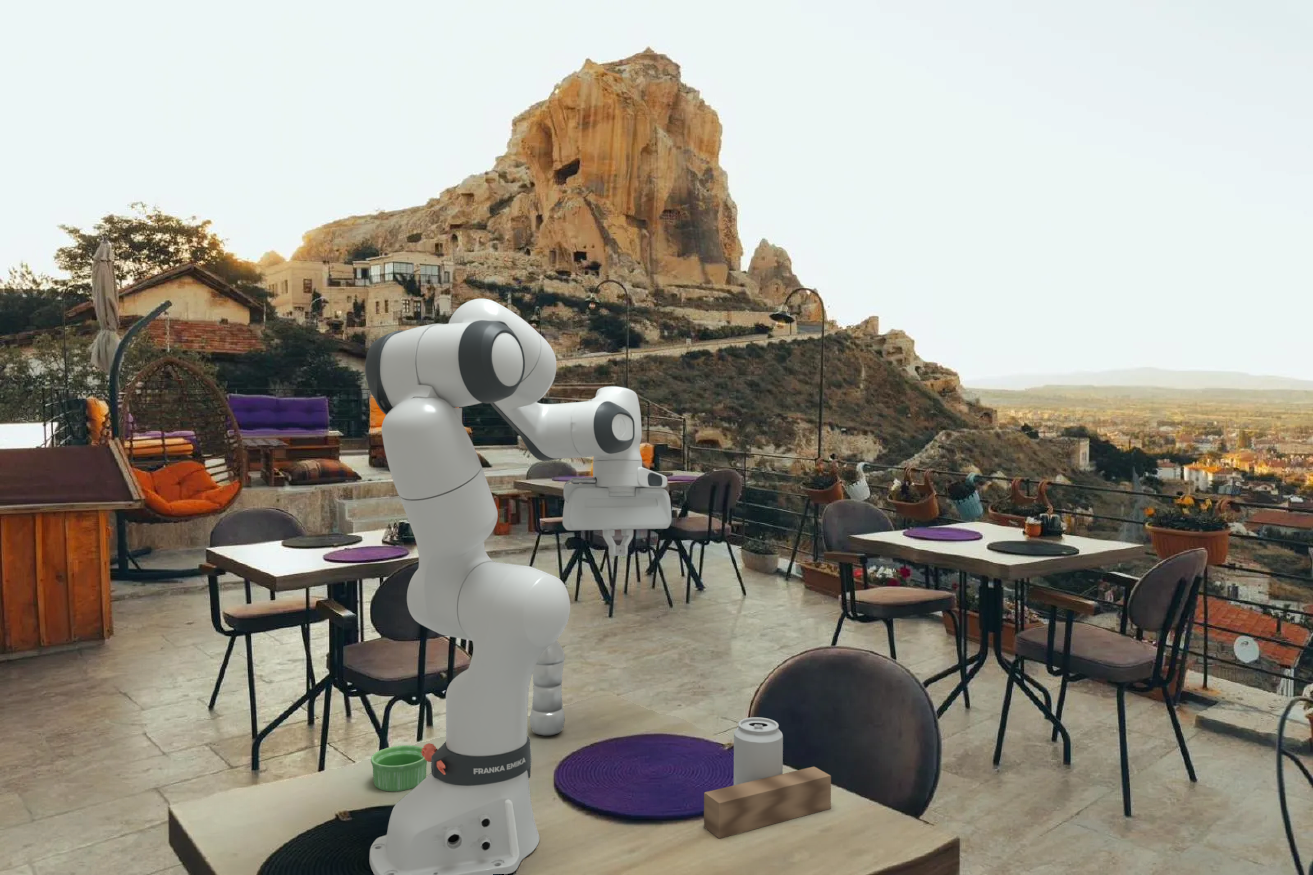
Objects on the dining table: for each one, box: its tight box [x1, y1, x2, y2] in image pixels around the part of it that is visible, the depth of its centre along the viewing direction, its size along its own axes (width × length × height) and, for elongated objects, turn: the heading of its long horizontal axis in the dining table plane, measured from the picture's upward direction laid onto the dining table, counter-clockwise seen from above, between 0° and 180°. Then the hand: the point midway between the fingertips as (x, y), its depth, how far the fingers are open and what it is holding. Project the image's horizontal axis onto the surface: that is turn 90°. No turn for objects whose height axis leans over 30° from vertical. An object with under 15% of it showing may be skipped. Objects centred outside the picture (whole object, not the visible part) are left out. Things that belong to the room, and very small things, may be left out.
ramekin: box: [370, 744, 428, 792], centre depth 141 cm, size 9×9×4 cm
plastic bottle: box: [529, 639, 566, 736], centre depth 162 cm, size 6×7×20 cm
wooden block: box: [703, 766, 832, 840], centre depth 128 cm, size 20×4×5 cm, turn 119°
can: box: [733, 716, 784, 786], centre depth 134 cm, size 8×8×12 cm
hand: (618, 555), depth 154 cm, fingers closed
